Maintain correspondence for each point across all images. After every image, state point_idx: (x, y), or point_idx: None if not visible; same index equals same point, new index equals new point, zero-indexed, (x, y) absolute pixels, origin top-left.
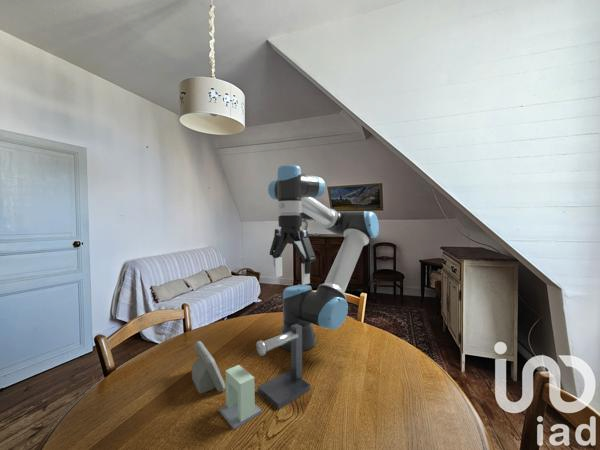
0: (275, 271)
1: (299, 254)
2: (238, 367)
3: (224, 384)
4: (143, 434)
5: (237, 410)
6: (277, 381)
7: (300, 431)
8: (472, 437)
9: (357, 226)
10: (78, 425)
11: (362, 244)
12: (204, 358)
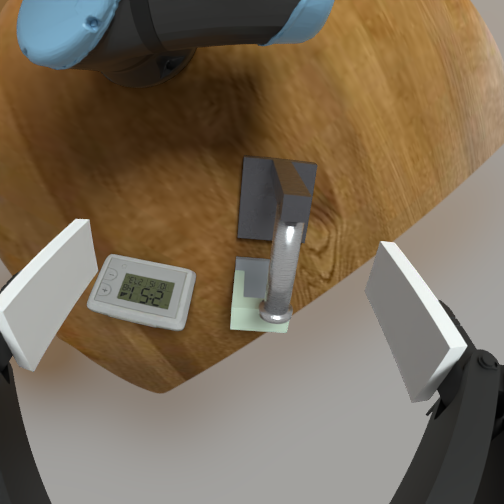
0: (75, 294)
1: (410, 470)
2: (239, 312)
3: (192, 276)
4: (204, 358)
5: (258, 285)
6: (255, 202)
7: (357, 246)
8: None
9: None
10: (147, 381)
11: None
12: (160, 327)
